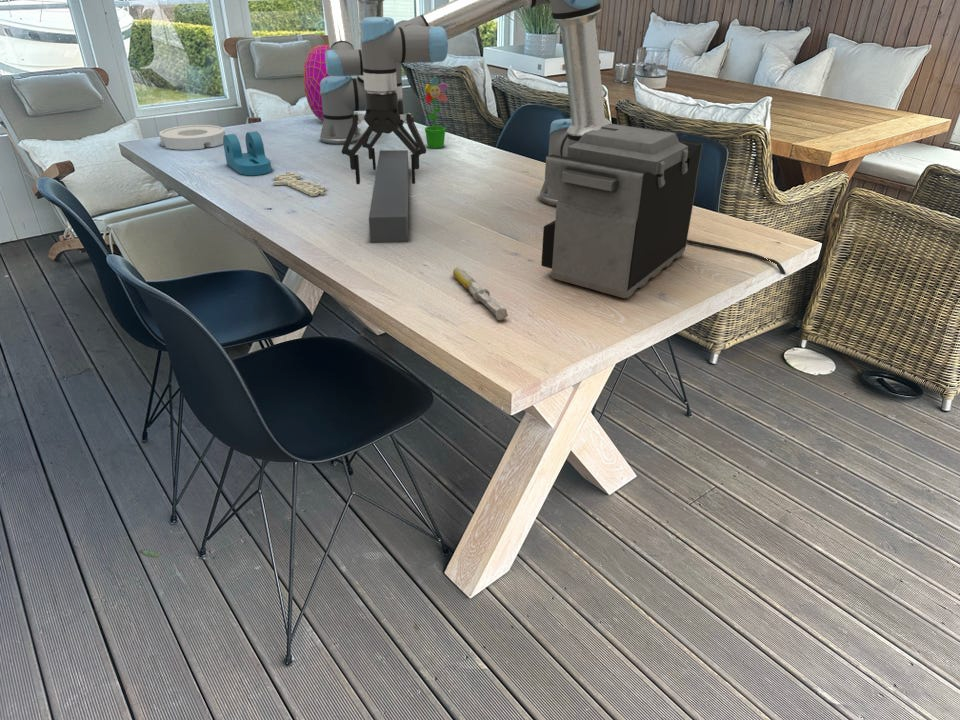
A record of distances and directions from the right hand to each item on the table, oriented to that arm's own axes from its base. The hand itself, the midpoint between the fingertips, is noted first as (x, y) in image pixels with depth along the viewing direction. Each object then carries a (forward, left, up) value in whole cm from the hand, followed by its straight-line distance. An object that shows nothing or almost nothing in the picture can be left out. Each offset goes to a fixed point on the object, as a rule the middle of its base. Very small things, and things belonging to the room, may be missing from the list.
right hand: (386, 182), depth 170 cm
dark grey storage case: (-58, -6, -14) cm, 60 cm away
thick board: (+14, -25, -14) cm, 32 cm away
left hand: (+29, -50, -12) cm, 59 cm away
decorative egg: (+95, -107, -14) cm, 144 cm away
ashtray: (+118, -52, -14) cm, 130 cm away
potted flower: (+34, -89, -14) cm, 96 cm away
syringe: (-37, +24, -14) cm, 46 cm away
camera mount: (+74, -33, -14) cm, 82 cm away
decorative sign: (+48, -24, -14) cm, 55 cm away
